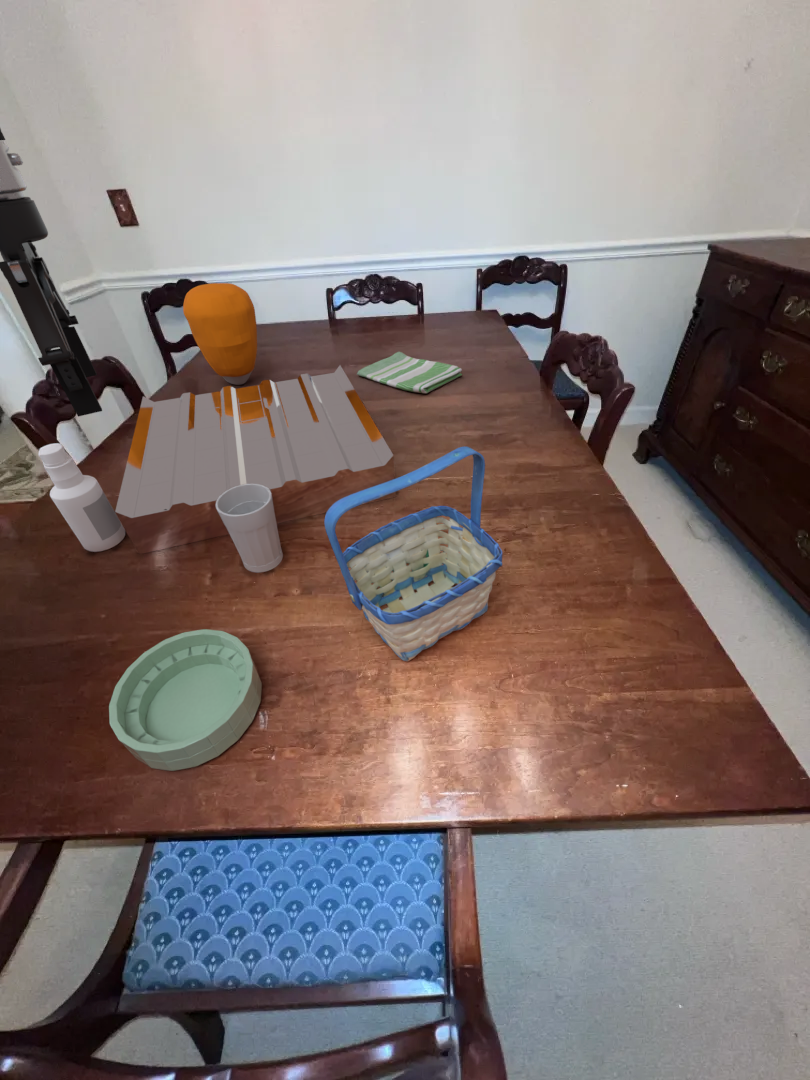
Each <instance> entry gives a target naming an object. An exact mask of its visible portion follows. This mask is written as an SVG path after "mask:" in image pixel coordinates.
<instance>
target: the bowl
mask: <svg viewBox="0 0 810 1080" xmlns="http://www.w3.org/2000/svg"><path fill="white" fill-rule="evenodd" d="M262 688H263V684H262V680H261V677H260V674H259V671H258V668H257V666H256V663H255V661H254V659H253V657H252V654H251V652H250V650H249V648H248V647H247V645H245V643H243V641H241V640H240V638H239V637H237V636H235V635H233V634H231V633H228V632H226V631H224V630H217V629H209V628H208V629H207V628H202V629H196V630H190V631H185V632H181V633H179V634H176V635H173V636H170V637H168V638H165V639H163V640H162V641H160V642H158V643H157V644H155V645H154V646H152V647H150V648H149V649H146V651H144V652H143V653H142V654H141V655H140V656H139V657H138V658H136V660H134V662H132V663H131V664H130V665H129V666H128V667H127V668H126V670H125V671H124V673H123V674H122V675H121V677H120V678H119V680H118V682H117V683H116V684H115V686H114V689H113V692H112V694H111V698H110V701H109V704H108V716H109V726H110V728H111V729H112V731H113V733H114V734H115V737H116V738H117V740H118V741H119V742H120V743H121V744H122V745H123V746H124V747H125V748H126V749H127V751H128V752H129V753H130V754H131V755H132V756H133V757H134V758H135V759H136V760H138V761H139V762H140V763H142V764H144V765H146V766H147V767H149V768H151V769H155V770H163V771H170V772H175V771H181V770H185V769H190V768H195V767H198V766H201V765H202V764H205V763H207V762H209V761H211V760H213V759H216V758H218V757H219V756H221V754H223V753H224V752H225V751H227V750H228V749H229V748H230V747H231V746H232V745H234V744H235V743H236V742H238V741H239V740H240V738H241V737H242V736H243V734H244V733H245V732H246V731H247V730H248V728H249V726H250V725H251V724H252V723H253V721H254V719H255V717H256V714H257V711H258V709H259V707H260V704H261V701H262Z"/></svg>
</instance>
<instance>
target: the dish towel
mask: <svg viewBox="0 0 810 1080" xmlns="http://www.w3.org/2000/svg"><path fill="white" fill-rule="evenodd" d="M462 371H463V370H462V368H461V367H459V366H458V365H454V364H450V363H444V362H439V361H434V360H433V361H432V360H428V359H423V358H415V357H411V356H409V355H406V354H405V353H403V352H402V351H397V352H395V353H393V354H392V355H391V356H388V357H387V358H386V357H385V358H383V359H380V360H378V361H376V362H373V363H372V364H368V365H366V366H364V367H362V368H361V369H359V370H358V371H357V373H356V375H357V376H359V377H363V378H366V379H368V380H371V381H374V382H376V383H379V384H382V385H387V386H389V387H392V388H396V389H399V390H403V391H406V392H410V393H411V392H412V393H418V394H428V393H430V392H432V391H434V390H435V389H438V388H440V387H442V386H444V385H446V384H448V383H450V382H452V381H454V380H456V379H457V378H459V377H461V376H463V374H462V373H461V372H462Z"/></svg>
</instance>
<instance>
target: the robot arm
mask: <svg viewBox="0 0 810 1080" xmlns="http://www.w3.org/2000/svg"><path fill="white" fill-rule="evenodd" d="M9 151H10V146H9V145H8V143H7V141H6V138H5V135H4V133H3V131H2V129H1V127H0V255H1V258H2V261H0V271H1V272H2V274H3V276H4V278H5V280H6V281H7V283H8V285H9V286H10V288H11V291H12V293H13V295H14V298H15V299H16V302H17V304H18V306H19V308H20V310H21V313H22V316H23V317H24V320H25V321H26V323H27V325H28V328H29V330H30V332H31V334H32V337H33V339H34V341H35V343H36V345H37V348H38V349H39V352H40V354H41V356H40V357H38V358H37V359H38V361H39V363H40V365H41V366H42V367H43V366H50V367H51V369H52V371H53V373H54V375H55V376H56V379H57V380H58V382H59V384H60V386H61V388H62V390H63V391H64V394H65V396H66V397H67V399H68V402H69V403H70V405H71V406H72V409H73V410H74V411H75V414H76V416H77V417H78V418H79V417H82V416H87V415H92V414H96V413H101V412H103V408H102V406H101V404H100V402H99V400H98V398H97V396H96V394H95V392H94V390H93V388H92V386H91V383H90V381H89V380H88V378H90V377H94V376H98V373H97V371H96V369H95V367H94V365H93V362H92V360H91V358H90V356H89V354H88V352H87V350H86V348H85V346H84V344H83V342H82V340H81V337H80V335H79V334H78V331H77V329H76V327H75V326H76V325H79V321H78V319H77V316H76V315H70V311H69V309H68V308H67V307H66V304H65V303H64V302H63V300H62V298H61V296H60V294H59V292H58V290H57V288H56V286H55V283H54V280H53V278H52V276H51V275H50V272H49V269H48V266H47V263H46V261H45V260H44V258H43V257H40V256H39V254H38V251H37V247H36V245H35V244H33V243H34V242H39V241H42V240H44V239H46V238H47V237H48V235H49V231H48V228H47V227H46V225H45V224H46V223H45V222H44V220H43V217H42V215H41V213H40V211H39V209H38V207H37V204H36V202H35V200H33V199H31V197H29V196H25V195H24V192H23V191H26V190H27V183H26V182H25V179H24V177H23V175H22V173H21V171H20V170H19V169H18V168H17V167H16V166H22V165H23V164H24V161H23V159H22V158H23V157H22V158H21V156H20V155H19V154H18V153H15V152H11V153H10V152H9ZM74 325H75V326H74Z"/></svg>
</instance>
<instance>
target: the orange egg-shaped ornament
mask: <svg viewBox="0 0 810 1080" xmlns="http://www.w3.org/2000/svg"><path fill="white" fill-rule="evenodd" d="M182 311H183V316H184V317H185V319H186V321H187V323H188V326H189V330H190V332H191V334H192V337H193V339H194V341H195V344H196V345H197V347H198V349H199V351H200V352H201V353H202V356H203V358H204V359H205V361H206V363H207V364H208V365H209V366H210V368H211V369H212V370H213V371H214V372H215V373H216V374H217V375H218V377H219V376H220V377H221V378H222V379H223V380H225V381H226V382H227V383H229V384H231V385H234V386H241V385H244V384H246V383H247V381H248V380H249V378H250V377H251V374H252V373H253V371H254V370H255V367H256V360H257V354H258V328H257V317H256V310H255V306H254V303H253V301H252V299H251V296H250V295H249V293H248V292H247V291H246V290H245V289H243V288H242V287H240V286H238V285H236V284H234V283H229V282H221V283H220V282H212V283H205V284H199V285H197V286H195V287H192V288H191V289H189V291H188V292H187V293H186V294H185V296H184V299H183V305H182Z"/></svg>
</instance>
